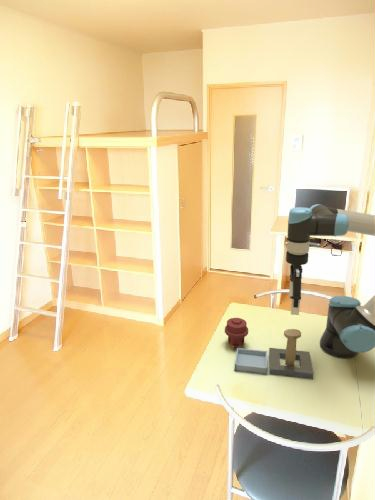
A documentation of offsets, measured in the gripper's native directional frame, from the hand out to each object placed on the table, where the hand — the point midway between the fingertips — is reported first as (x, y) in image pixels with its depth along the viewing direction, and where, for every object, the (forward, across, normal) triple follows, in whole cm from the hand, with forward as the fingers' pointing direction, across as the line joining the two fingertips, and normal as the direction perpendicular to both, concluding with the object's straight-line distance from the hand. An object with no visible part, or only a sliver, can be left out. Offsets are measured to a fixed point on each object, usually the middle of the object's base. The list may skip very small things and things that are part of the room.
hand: (293, 305), depth 132 cm
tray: (+26, +2, -15) cm, 30 cm away
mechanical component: (+26, -10, -22) cm, 36 cm away
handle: (+27, 0, 0) cm, 27 cm away
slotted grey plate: (+26, 0, 0) cm, 26 cm away
